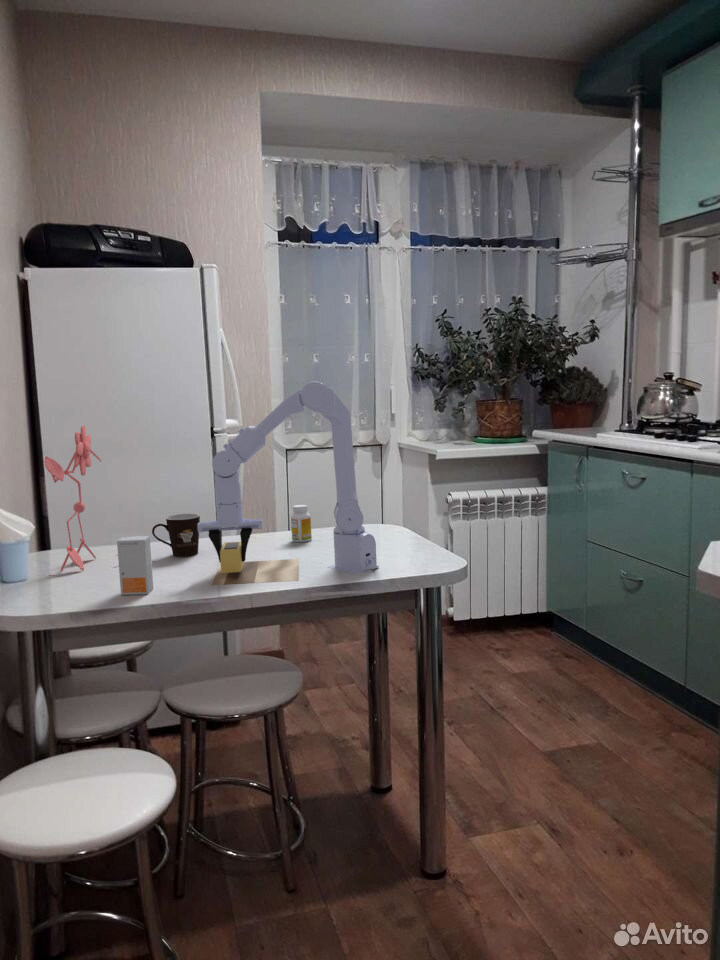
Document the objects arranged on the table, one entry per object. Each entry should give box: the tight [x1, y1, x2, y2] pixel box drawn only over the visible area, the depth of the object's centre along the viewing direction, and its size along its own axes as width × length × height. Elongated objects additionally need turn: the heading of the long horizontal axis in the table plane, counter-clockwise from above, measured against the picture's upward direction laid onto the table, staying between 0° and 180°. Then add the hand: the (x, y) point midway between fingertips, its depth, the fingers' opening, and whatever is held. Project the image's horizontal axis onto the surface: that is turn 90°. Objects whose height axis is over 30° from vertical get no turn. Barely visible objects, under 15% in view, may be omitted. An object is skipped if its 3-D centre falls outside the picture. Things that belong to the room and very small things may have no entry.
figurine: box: [44, 425, 119, 577], centre depth 187 cm, size 15×26×35 cm, turn 2°
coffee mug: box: [151, 513, 201, 558], centre depth 197 cm, size 12×9×10 cm
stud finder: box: [220, 541, 245, 573], centre depth 173 cm, size 4×9×5 cm, turn 4°
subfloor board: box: [210, 558, 300, 586], centre depth 174 cm, size 19×20×1 cm
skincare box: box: [116, 535, 154, 596], centre depth 162 cm, size 6×4×12 cm
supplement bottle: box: [290, 504, 312, 543], centre depth 208 cm, size 5×5×10 cm
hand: (232, 561), depth 173 cm, fingers closed on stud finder, 4 cm apart
